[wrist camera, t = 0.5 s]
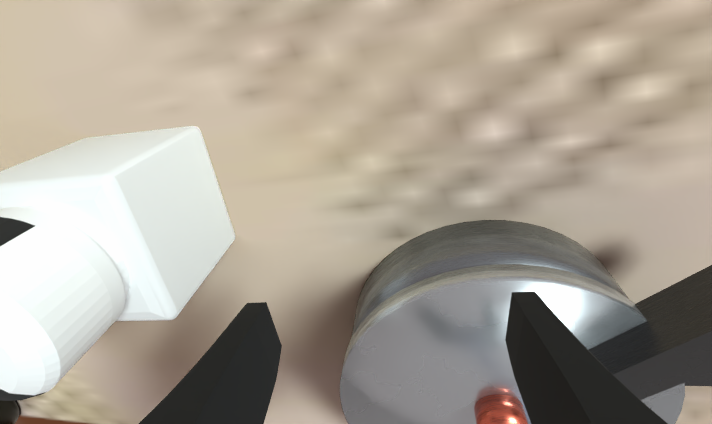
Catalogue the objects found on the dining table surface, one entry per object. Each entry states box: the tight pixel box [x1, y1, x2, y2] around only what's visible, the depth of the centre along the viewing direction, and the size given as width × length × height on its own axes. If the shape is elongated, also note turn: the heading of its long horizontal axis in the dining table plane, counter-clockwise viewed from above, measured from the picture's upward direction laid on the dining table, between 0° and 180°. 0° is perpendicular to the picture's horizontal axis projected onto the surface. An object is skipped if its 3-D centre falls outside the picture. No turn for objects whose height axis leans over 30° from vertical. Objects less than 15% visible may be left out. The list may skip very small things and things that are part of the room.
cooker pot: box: [352, 220, 712, 386], centre depth 22 cm, size 20×16×4 cm
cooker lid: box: [340, 264, 712, 424], centre depth 18 cm, size 22×16×3 cm
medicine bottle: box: [0, 126, 235, 401], centre depth 17 cm, size 7×7×12 cm
